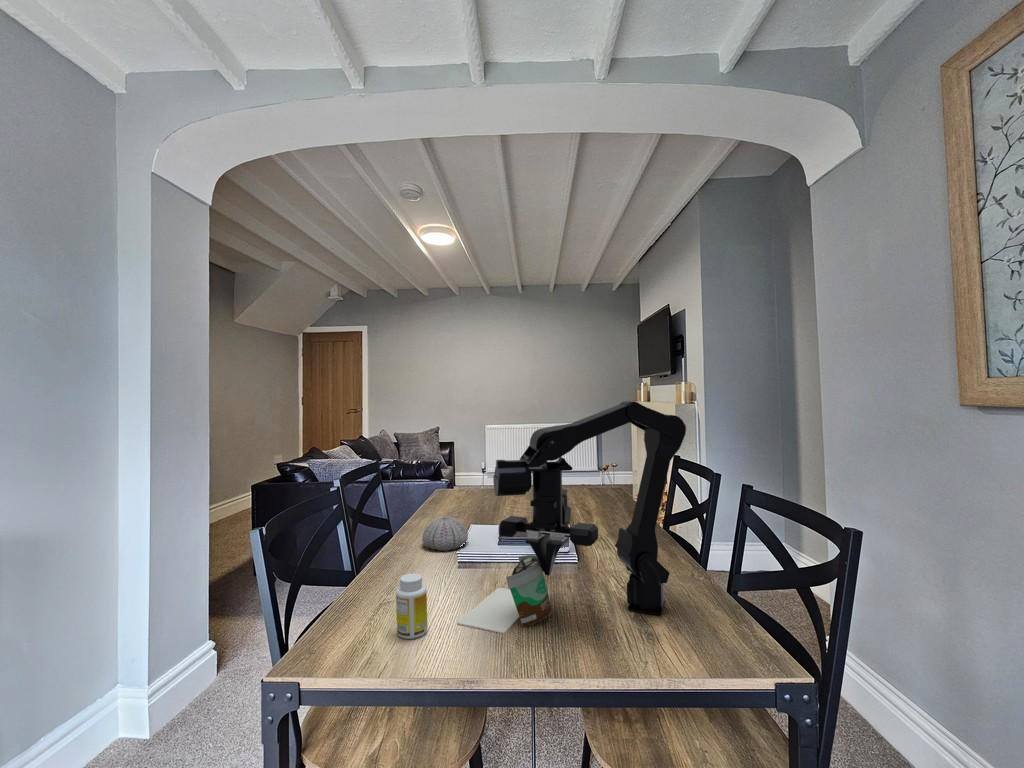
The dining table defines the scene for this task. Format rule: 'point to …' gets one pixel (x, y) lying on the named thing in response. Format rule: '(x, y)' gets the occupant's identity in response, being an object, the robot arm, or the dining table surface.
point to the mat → (493, 612)
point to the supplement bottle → (411, 607)
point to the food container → (529, 590)
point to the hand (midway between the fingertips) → (547, 574)
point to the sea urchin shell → (445, 534)
